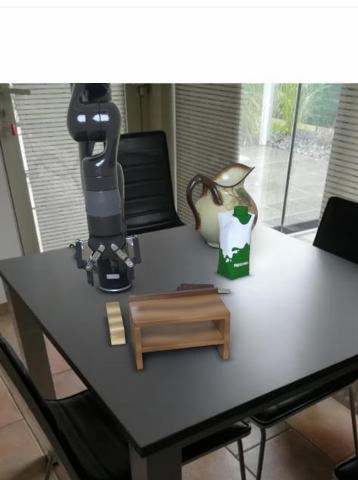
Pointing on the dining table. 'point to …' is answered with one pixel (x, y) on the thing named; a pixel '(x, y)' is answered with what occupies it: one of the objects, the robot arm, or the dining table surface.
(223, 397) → the dining table surface
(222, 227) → the milk carton
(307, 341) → the dining table surface
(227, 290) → the ice cream bar
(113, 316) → the beech stick
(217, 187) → the pitcher
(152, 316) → the shelf
